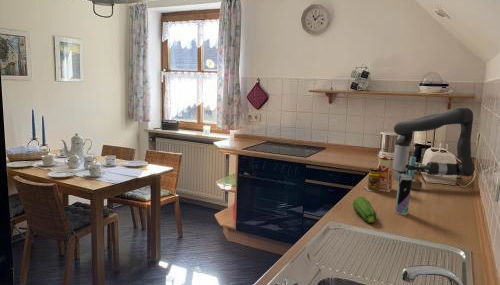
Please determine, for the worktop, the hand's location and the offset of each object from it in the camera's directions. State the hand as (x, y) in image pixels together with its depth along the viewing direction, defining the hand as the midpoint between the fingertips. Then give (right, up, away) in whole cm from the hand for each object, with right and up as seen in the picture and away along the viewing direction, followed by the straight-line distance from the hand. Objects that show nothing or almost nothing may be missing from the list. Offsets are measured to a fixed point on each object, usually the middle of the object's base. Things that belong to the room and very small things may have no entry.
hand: (406, 167), depth 223 cm
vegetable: (-40, -19, -53) cm, 69 cm away
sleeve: (+3, -9, +13) cm, 16 cm away
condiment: (-23, -12, -9) cm, 27 cm away
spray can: (-21, -18, -46) cm, 54 cm away
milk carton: (-17, -12, -7) cm, 22 cm away
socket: (+2, -12, -3) cm, 13 cm away
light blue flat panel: (+2, -9, +5) cm, 11 cm away
